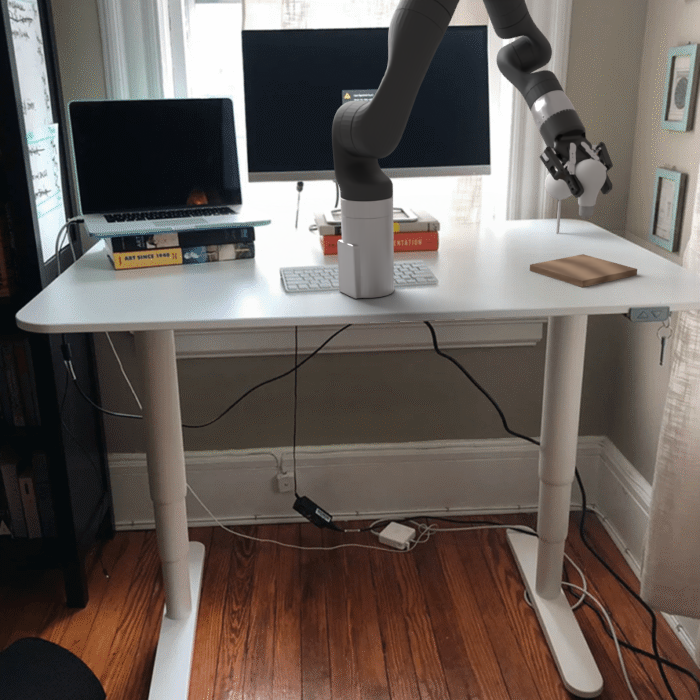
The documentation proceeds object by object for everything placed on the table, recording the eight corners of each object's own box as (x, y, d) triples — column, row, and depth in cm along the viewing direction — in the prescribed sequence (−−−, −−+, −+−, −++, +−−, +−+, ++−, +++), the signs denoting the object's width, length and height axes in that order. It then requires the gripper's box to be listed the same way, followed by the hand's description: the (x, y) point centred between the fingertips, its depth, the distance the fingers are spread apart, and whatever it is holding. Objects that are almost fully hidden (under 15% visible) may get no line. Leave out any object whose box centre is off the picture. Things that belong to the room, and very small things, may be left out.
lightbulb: (578, 223, 146) (583, 162, 142) (562, 217, 151) (566, 158, 147) (608, 220, 147) (614, 160, 143) (592, 214, 153) (596, 156, 149)
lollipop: (570, 229, 188) (575, 165, 182) (575, 236, 181) (580, 169, 176) (540, 230, 188) (543, 165, 183) (544, 236, 182) (547, 170, 176)
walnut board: (582, 287, 144) (582, 280, 144) (529, 270, 155) (529, 264, 155) (636, 275, 150) (637, 268, 150) (582, 259, 162) (582, 254, 161)
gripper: (535, 110, 146) (573, 184, 140) (598, 105, 151) (636, 177, 145) (517, 137, 152) (552, 209, 146) (577, 131, 158) (613, 201, 152)
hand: (594, 193), depth 146 cm, fingers closed on lightbulb, 6 cm apart
